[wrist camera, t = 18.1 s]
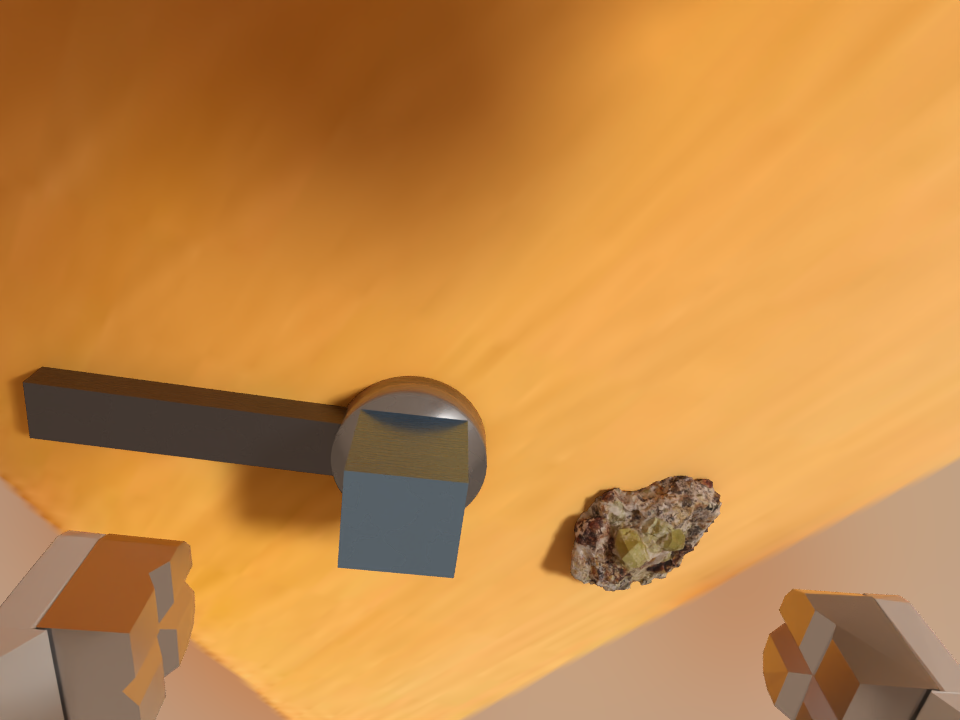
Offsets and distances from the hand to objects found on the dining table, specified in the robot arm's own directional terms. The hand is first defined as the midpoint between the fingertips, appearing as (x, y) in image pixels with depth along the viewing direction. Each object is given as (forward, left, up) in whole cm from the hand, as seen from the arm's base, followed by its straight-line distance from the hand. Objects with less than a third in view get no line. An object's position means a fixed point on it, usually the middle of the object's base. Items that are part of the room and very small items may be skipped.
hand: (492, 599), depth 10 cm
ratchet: (+10, +16, -29) cm, 35 cm away
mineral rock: (-14, +21, -30) cm, 39 cm away
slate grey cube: (+2, +16, -27) cm, 31 cm away
